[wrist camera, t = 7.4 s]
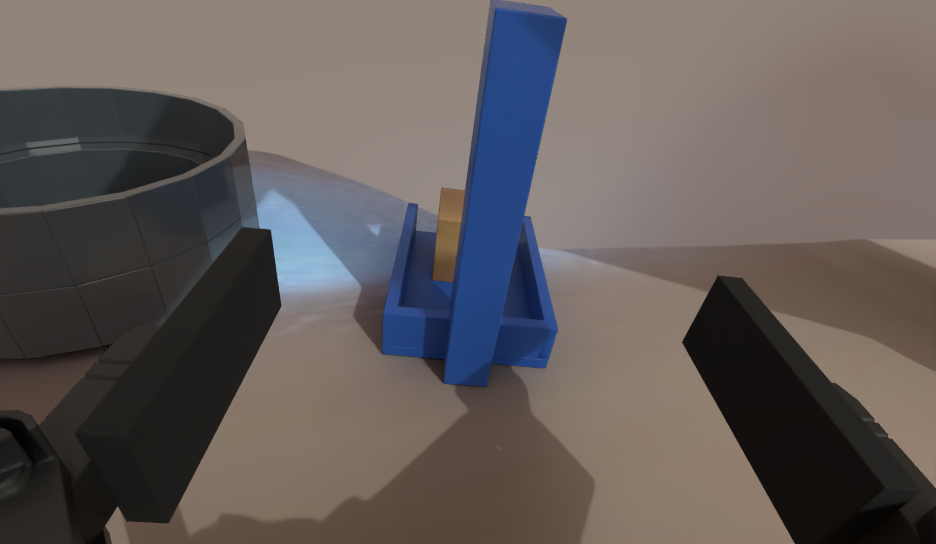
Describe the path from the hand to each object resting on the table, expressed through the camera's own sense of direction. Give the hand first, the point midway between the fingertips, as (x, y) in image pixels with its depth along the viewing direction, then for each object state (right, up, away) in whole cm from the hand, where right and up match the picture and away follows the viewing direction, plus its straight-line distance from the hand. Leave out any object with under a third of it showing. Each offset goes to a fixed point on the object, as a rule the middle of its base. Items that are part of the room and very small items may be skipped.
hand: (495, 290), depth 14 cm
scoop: (-1, -1, +12) cm, 12 cm away
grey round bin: (-21, +1, +11) cm, 24 cm away
